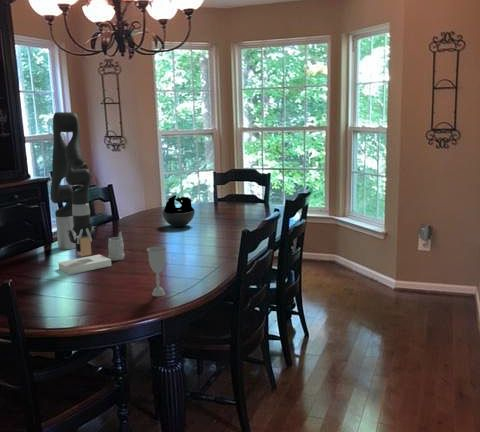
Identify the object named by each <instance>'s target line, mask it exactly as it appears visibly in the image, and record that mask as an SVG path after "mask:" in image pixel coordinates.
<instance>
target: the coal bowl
mask: <svg viewBox="0 0 480 432" xmlns="http://www.w3.org/2000/svg"><path fill="white" fill-rule="evenodd" d="M176 201H177V202H179V204H180V205H181V206H179V207H177V206H176V204H175V203H176ZM195 212H196V211H195V208H193V205H192V199H191V198H189V197H187V196H180V197H177V194H174V195H172V196H171V197H169V198H168V199H167V202H166V203H165V206H164V209H163V210H162V211H161V214H162V217H163V219H164V221H165V222H166V223H167V224H168V225H170V226H172V227H175V228H176V227H177V228H180V227H185V226H187V225H188V224H190V223H191V222H192V220H193V219H194V216H195V214H196V213H195Z"/></svg>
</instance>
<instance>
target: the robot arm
mask: <svg viewBox="0 0 480 432" xmlns="http://www.w3.org/2000/svg"><path fill="white" fill-rule="evenodd" d="M79 122H80V121H79V117H78V115H77V114H76V112H67V111H66V112H65V111H58V112H57V111H56V112H55V113H54V114H53V117H52V135H53V136H52V137H53V143H52V145H53V146H52V159H51V160H52V161H51V162H52V168H51V170H52V173H51V183H50V194H49V195H50V200H51V202H52V203H53V204H64V205H63V206H62V207H60V208H58V209H56V210H55V213H54V214H55V223H56V225H55V227H56V236H57V247H58V248H57V249H58V250H65V251H67V250H72V249H75V250H76V251H77V253H78V252H80V244H79V242H80V238H81V236H84V235H85V236H86V235H88V236H89V237H90V240H91V249H93V241H96V239H97V236H98V229H99V227H98V226H95V225H92V224H91V223H92V221H91V220H92V219H91V209H90V208H91V207H90V203H89V201H90V200H89V188H90V183H91V180H92V179H91V178H92V175H91V172H90V170H89V169H88V168H82V167H83V166H84V158H83V157H84V156H83V153H82V148H81V147H82V146H81V134H80V123H79ZM61 133H72V136H71V138H70V140H69V142H68V143H66V142H65V140H64V139H63V138H62V134H61ZM64 178H65V181H66V183H67V184H61V182H62V180H63V179H64ZM72 186H81V188H79V189H77V190H74V189H73V187H72Z"/></svg>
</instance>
